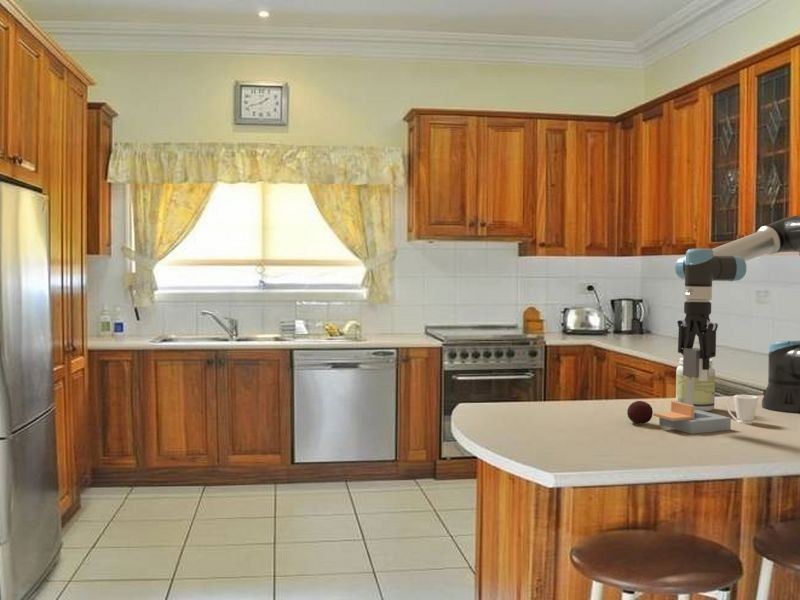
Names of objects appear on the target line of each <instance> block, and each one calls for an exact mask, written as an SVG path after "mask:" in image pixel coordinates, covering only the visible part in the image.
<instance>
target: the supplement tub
mask: <svg viewBox="0 0 800 600" xmlns="http://www.w3.org/2000/svg"><path fill="white" fill-rule="evenodd" d="M678 364H679V365H678V366H677V368H676V371H675V373H676V374H675V375H676V376H675V379H676V380H675V402H680V403H684V404H688V405H693V406H695V408H694V410H700V411H704V412H711V411H713V410H714V409H715V398H716V397H715V396H716V395H715V391H716V388H715V387H716V370H715V369H714V367H712V366H713V359H711V358H710V360H709V372H708V377H707V381H696V380H695V379H694V377H693V378H692V380H686V378H684V375H683V357H680V358H679V361H678Z"/></svg>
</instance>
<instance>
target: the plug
mask: <svg viewBox="0 0 800 600" xmlns="http://www.w3.org/2000/svg"><path fill="white" fill-rule="evenodd" d="M682 356H683V357H682V358H683V375H684V376H686V380H692V377H694V379H695V380H696V381H699V359H700V357H701V351H700V347H699V348H698V347H693V348H686V349H684V352H683V355H682ZM708 372H709V370H708Z"/></svg>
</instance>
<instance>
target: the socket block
mask: <svg viewBox="0 0 800 600" xmlns="http://www.w3.org/2000/svg"><path fill="white" fill-rule="evenodd" d="M731 424H732V418H731V417H728V416H725V415H720V414H717V413H712V412H709V411H705V412H704V411H700V410H694V419H688V420H678V421H671V420H667V419H664V418H660V417H659V426H662V427H666V428H668V429H674V430H676V431H680V432H684V433H687V434H690V435H691V434H692V435H694V434H702V433H703V434H704V433H711V432H719V431H730V430H731Z"/></svg>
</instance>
